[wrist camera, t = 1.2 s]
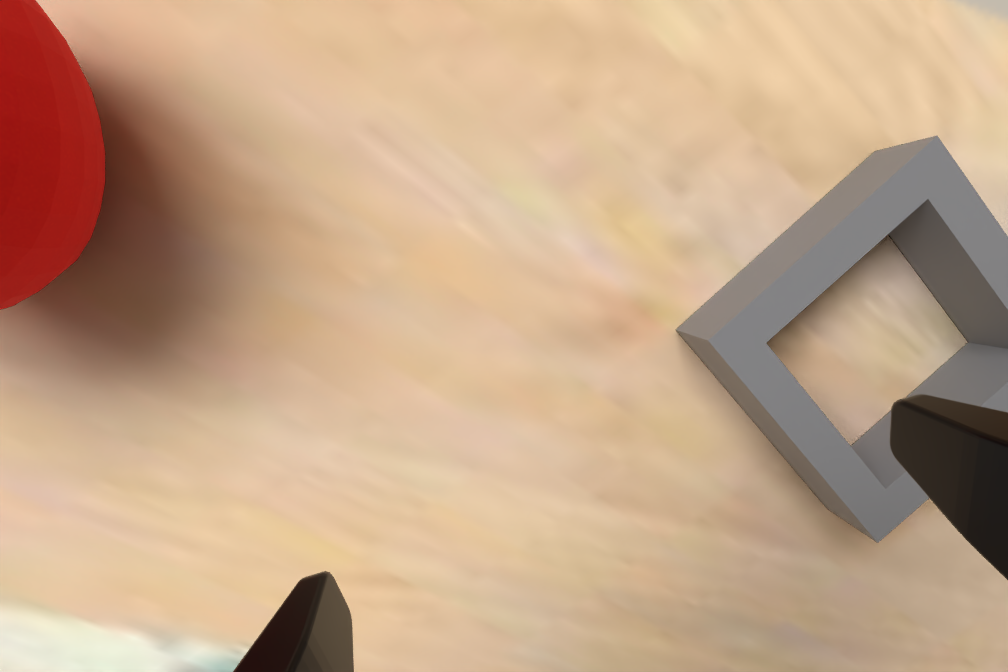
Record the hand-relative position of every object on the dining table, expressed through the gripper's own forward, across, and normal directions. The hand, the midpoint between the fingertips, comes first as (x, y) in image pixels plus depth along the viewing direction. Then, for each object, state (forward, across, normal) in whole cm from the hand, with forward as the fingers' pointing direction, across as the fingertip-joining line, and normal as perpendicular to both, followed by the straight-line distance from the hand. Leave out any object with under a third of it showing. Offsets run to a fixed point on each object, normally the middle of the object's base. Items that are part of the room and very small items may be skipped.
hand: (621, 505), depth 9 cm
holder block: (+13, -13, +7) cm, 20 cm away
